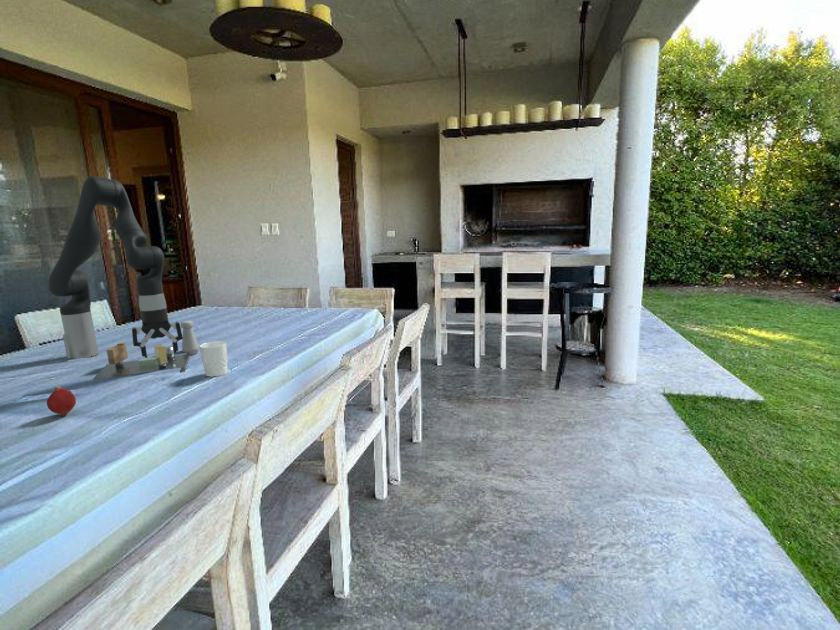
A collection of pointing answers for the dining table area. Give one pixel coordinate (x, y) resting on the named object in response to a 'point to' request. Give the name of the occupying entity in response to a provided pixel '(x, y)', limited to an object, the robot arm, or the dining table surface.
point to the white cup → (214, 358)
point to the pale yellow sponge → (161, 355)
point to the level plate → (145, 365)
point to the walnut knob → (117, 354)
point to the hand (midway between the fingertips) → (160, 354)
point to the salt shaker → (189, 338)
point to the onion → (61, 401)
